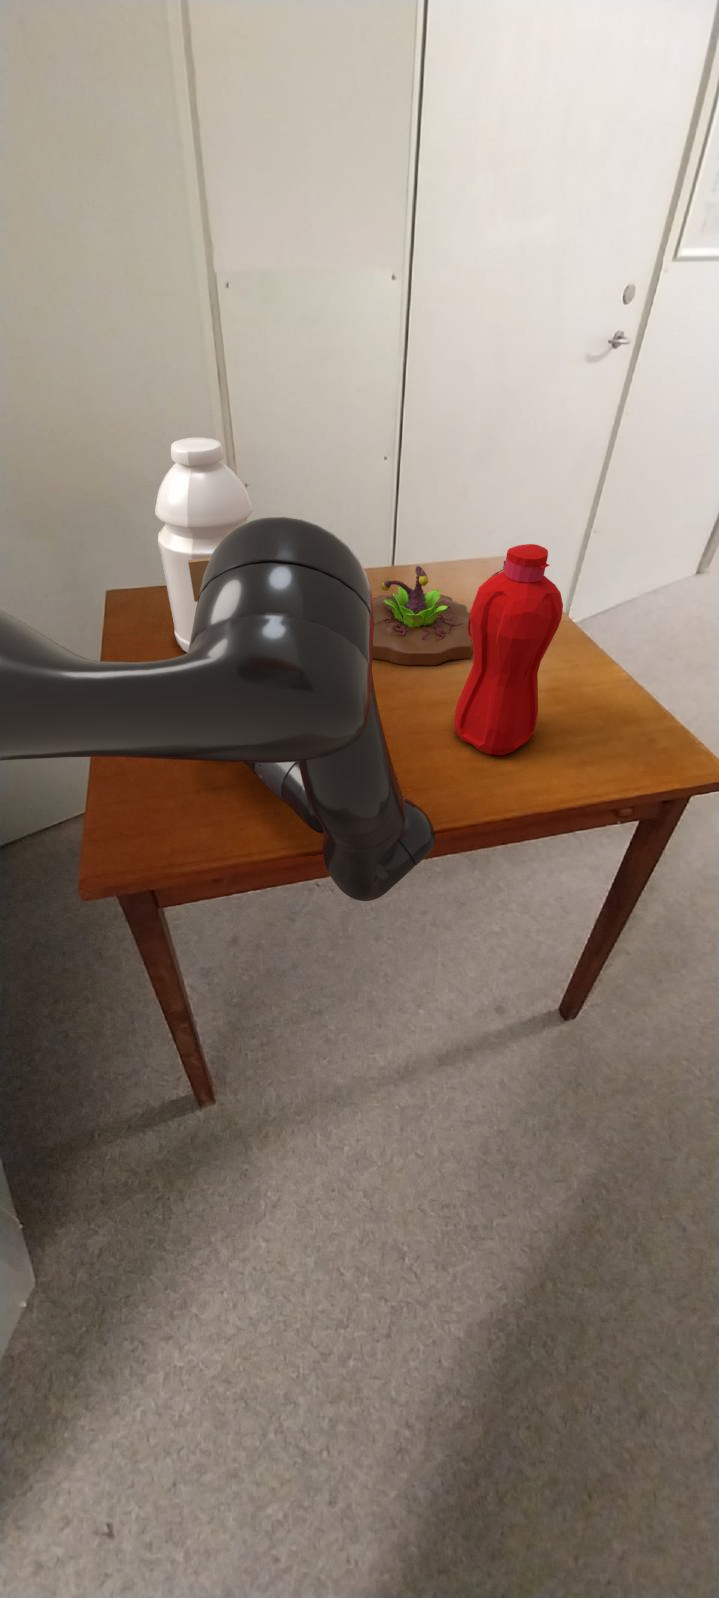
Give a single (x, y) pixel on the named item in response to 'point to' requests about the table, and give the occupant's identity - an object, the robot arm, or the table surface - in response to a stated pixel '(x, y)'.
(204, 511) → the bottle
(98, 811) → the table surface
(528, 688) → the water bottle
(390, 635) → the plant
